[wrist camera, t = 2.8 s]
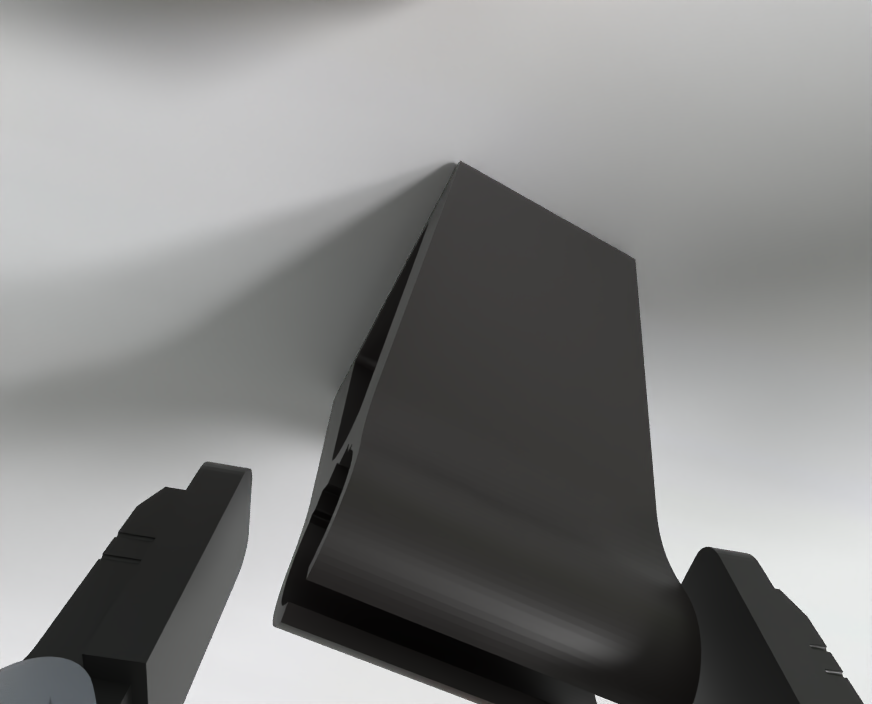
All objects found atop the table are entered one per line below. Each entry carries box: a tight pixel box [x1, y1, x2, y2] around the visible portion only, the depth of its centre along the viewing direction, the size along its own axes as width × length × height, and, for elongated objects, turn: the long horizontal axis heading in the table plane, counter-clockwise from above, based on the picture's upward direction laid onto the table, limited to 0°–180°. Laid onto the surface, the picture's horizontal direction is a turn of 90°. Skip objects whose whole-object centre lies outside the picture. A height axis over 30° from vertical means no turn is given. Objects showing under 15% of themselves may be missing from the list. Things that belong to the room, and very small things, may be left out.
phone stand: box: [273, 161, 701, 704], centre depth 13 cm, size 9×6×12 cm, turn 152°
